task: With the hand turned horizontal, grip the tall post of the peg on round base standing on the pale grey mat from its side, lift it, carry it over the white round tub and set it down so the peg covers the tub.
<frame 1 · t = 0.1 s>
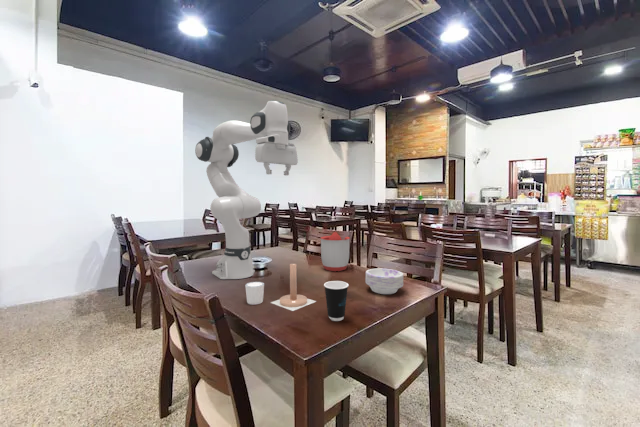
hand: (277, 174, 124), 48 cm above the table, tool pointing down, fingers open, 8 cm apart
citrus juicer: (336, 269, 160), on the table
peg on round base: (293, 302, 109), resting on mat
dixie cup: (336, 318, 96), on the table
paper bowls: (384, 291, 123), on the table
mat: (293, 303, 109), on the table
white round tub: (255, 303, 110), on the table
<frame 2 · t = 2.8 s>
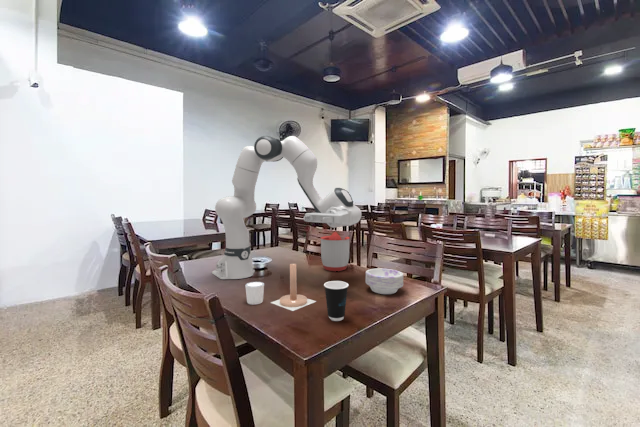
hand: (313, 219, 118), 30 cm above the table, tool horizontal, fingers open, 8 cm apart
nothing on the table moved.
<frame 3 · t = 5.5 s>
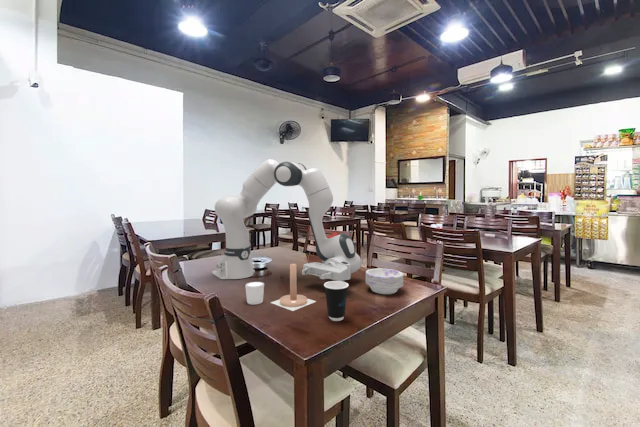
hand: (311, 274, 116), 8 cm above the table, tool horizontal, fingers open, 8 cm apart
nothing on the table moved.
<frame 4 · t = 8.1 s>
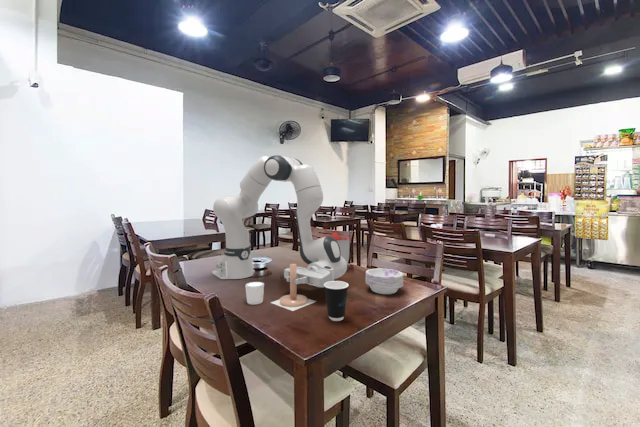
hand: (291, 280, 108), 9 cm above the table, tool horizontal, fingers closed on peg on round base, 2 cm apart
peg on round base: (293, 302, 109), resting on mat, touching gripper
everything else where it was.
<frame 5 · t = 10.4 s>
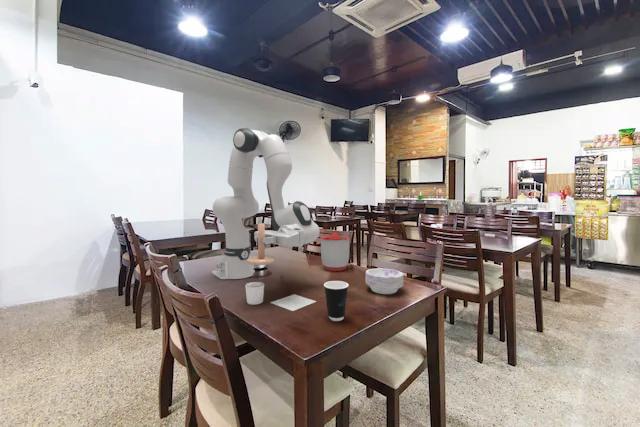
hand: (259, 239, 108), 23 cm above the table, tool horizontal, fingers closed on peg on round base, 2 cm apart
peg on round base: (261, 261, 109), point 15 cm above the table, touching gripper
everything else where it was.
when the fingers open (16 cm above the table, at t = 12.8 s): peg on round base stays where it is, resting on white round tub.
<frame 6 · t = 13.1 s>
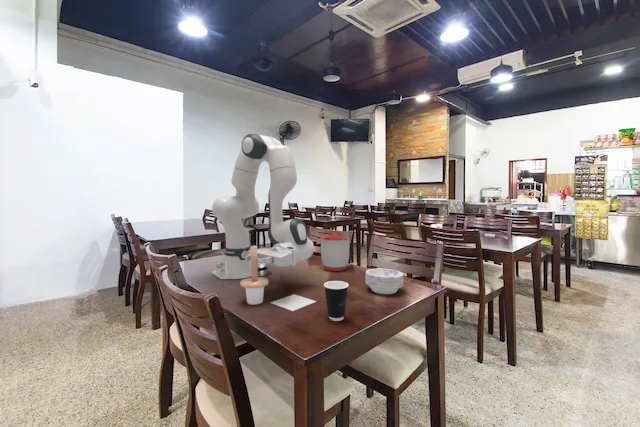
hand: (252, 260, 108), 16 cm above the table, tool horizontal, fingers open, 6 cm apart
peg on round base: (254, 284, 109), point 7 cm above the table, touching white round tub
white round tub: (255, 303, 110), on the table, touching peg on round base
everything else where it was.
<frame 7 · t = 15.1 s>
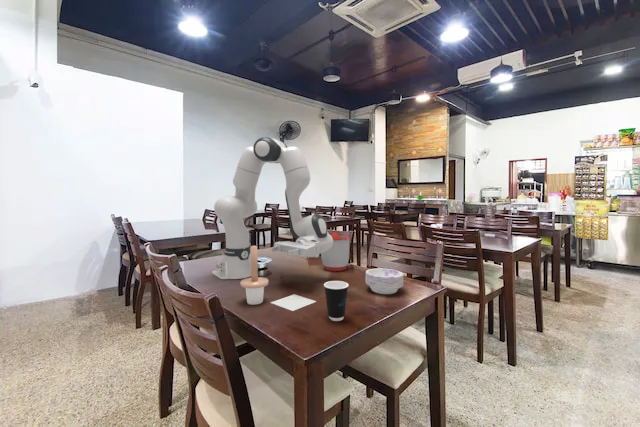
hand: (279, 251, 118), 17 cm above the table, tool horizontal, fingers open, 8 cm apart
nothing on the table moved.
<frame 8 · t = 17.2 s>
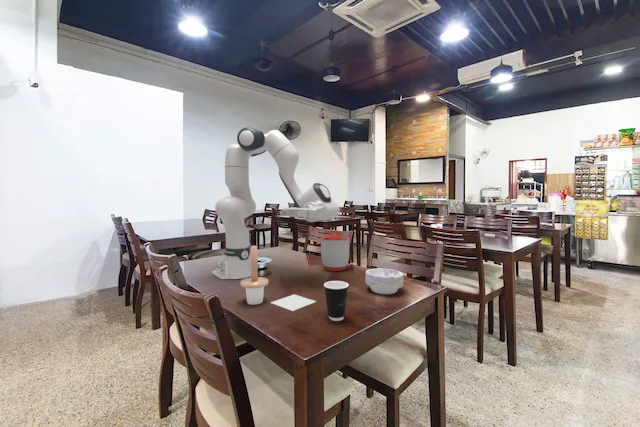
hand: (288, 213, 122), 32 cm above the table, tool horizontal, fingers open, 8 cm apart
nothing on the table moved.
at the end: peg on round base 0.0 cm from the white round tub (horizontally); peg on round base point 7.0 cm above the table; the gripper is holding nothing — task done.
